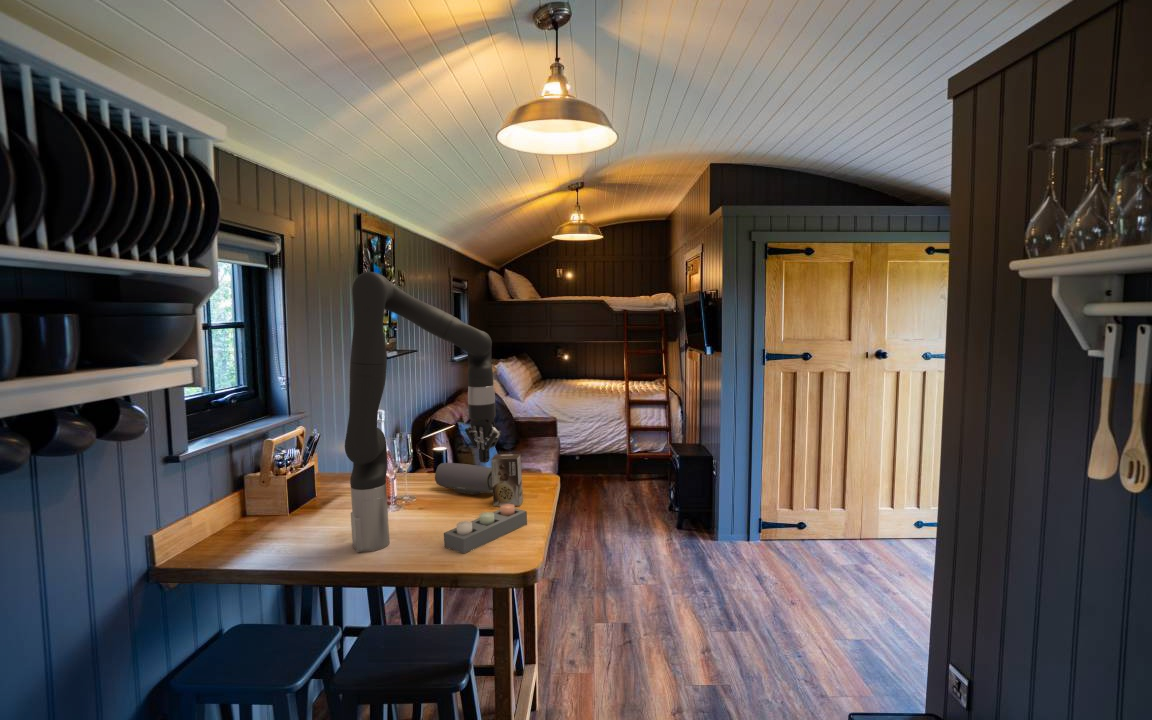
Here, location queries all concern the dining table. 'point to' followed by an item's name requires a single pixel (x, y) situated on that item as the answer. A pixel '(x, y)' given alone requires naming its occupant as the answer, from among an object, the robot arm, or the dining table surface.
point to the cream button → (464, 528)
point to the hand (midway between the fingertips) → (484, 461)
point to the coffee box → (507, 479)
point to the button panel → (485, 531)
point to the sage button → (486, 518)
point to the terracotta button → (507, 509)
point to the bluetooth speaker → (465, 478)
